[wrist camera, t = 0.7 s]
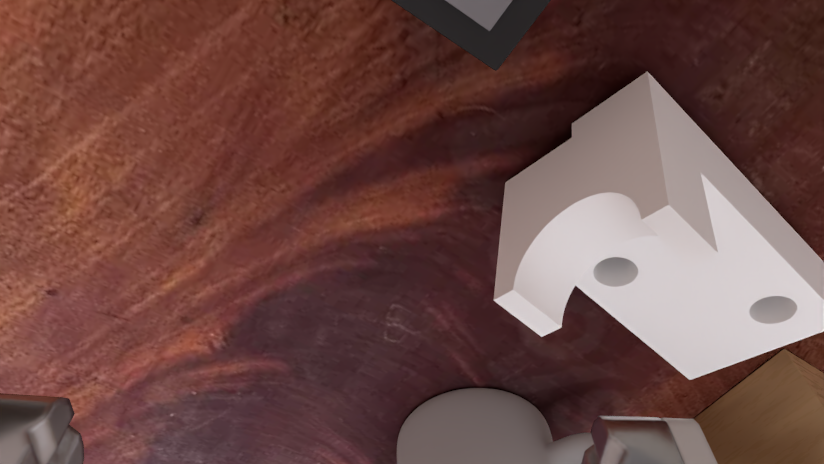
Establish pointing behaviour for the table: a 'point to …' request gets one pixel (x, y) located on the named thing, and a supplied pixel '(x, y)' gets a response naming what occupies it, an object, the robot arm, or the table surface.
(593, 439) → the robot arm
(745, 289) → the bracket
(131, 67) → the table surface
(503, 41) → the black block
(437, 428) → the mug
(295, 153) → the table surface
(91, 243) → the table surface
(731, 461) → the stand
